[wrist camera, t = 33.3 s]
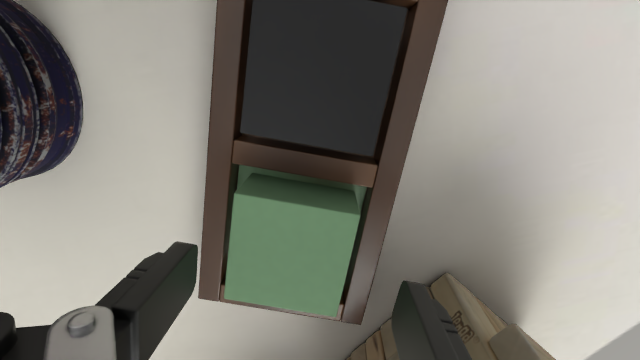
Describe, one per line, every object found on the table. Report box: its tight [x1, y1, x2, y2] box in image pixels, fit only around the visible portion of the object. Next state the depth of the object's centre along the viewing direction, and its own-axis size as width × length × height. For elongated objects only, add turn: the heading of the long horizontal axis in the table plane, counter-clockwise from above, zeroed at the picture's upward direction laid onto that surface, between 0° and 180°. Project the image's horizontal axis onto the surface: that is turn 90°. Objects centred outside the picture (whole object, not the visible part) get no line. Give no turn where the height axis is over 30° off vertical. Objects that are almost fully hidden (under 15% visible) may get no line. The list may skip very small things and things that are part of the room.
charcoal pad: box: [240, 0, 407, 156], centre depth 13 cm, size 6×6×3 cm
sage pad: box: [224, 173, 361, 317], centre depth 15 cm, size 6×6×3 cm
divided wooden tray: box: [198, 0, 448, 325], centre depth 15 cm, size 9×18×2 cm, turn 170°
